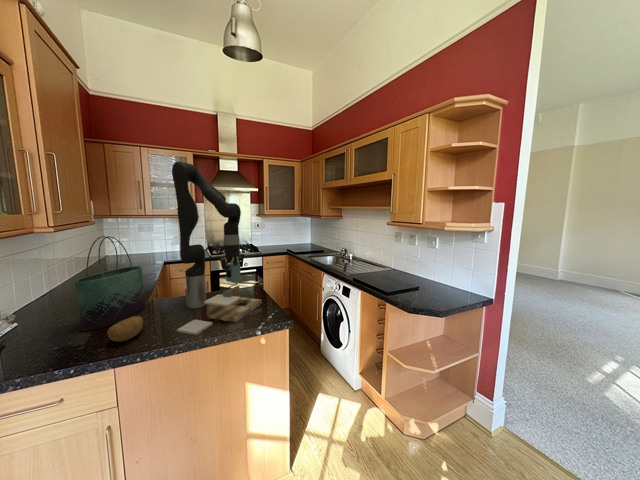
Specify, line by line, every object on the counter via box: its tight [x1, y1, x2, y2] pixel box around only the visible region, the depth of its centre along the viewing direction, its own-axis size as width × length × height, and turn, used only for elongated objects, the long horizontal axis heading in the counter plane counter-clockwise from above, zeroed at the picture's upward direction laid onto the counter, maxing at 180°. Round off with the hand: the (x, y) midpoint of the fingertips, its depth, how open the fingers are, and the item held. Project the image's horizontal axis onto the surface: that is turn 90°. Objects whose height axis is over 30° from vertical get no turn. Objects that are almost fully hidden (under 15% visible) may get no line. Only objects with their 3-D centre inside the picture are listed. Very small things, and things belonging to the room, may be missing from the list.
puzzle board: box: [206, 285, 263, 323], centre depth 131 cm, size 16×24×8 cm, turn 163°
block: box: [225, 263, 242, 283], centre depth 130 cm, size 5×5×8 cm
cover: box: [204, 290, 242, 307], centre depth 121 cm, size 13×10×3 cm
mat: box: [176, 319, 213, 336], centre depth 113 cm, size 10×10×1 cm
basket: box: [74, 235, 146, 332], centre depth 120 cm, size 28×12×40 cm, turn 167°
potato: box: [107, 315, 144, 343], centre depth 104 cm, size 10×14×8 cm
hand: (233, 275), depth 130 cm, fingers closed on block, 5 cm apart
